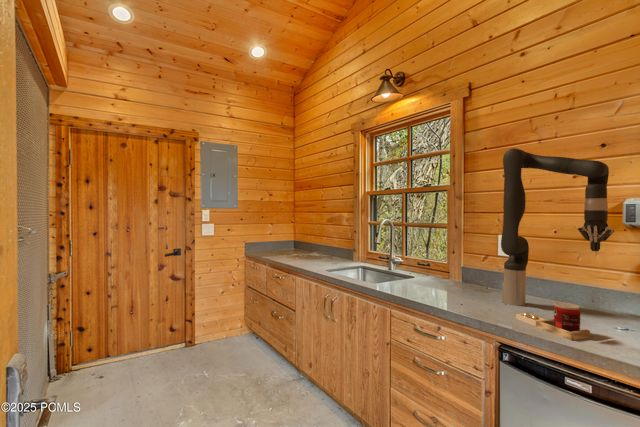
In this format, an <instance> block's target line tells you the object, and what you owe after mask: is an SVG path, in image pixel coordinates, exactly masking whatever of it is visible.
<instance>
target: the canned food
mask: <svg viewBox="0 0 640 427" xmlns="http://www.w3.org/2000/svg"><path fill="white" fill-rule="evenodd" d="M553 319H554V326H555V327H558V328H561V329H563V330H566V331H569V332H573V331H580V330H581V306H580V305H577V304H575V303H569V302H564V301H557V302H554V305H553Z"/></svg>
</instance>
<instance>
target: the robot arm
mask: <svg viewBox="0 0 640 427" xmlns="http://www.w3.org/2000/svg"><path fill="white" fill-rule="evenodd" d="M502 166H503V174H504V175H503V176H504V181H503V182H504V183H503V204H502V205H503V206H502V207H503V217H502V220H503V221H502V224H503V225H502V231H501V239H500V240H501V241H500V247H501V250H502V253H503V254H504V255H506V256H508V259H507V260H506V261H505V262H504V263H503V264H504V265H503V282H502V283H501V303H503V304H504V305H508V306H515V307H524V306H526V305H527V304H526V301H527V299H526V298H527V297H526V296H527V294H526V292H527V290H526V289H527V265H528V263H529V256H530V255H529V254H530V253H529V252H530V251H529V250H530V249H529V247H530V245H529V242H528V240H527V239H526V238H525V237H523V236H522V235H521V236H520V235H519V227H520V223H521V221H522V219H523V217H524V214H525V211H526V206H527V204H526V200H527V199H526V198H527V197H526V192H525V191H526V190H525V187H524V184H523V179H522V169H535V170H543V171H548V172H552V173H556V174H558V173H559V174H564V175H570V176H571V175H576V176H580V177H587V184H586V187H585V192H584V206H583V207H584V209H583V213H584V214H583V215H584V216H583V219H584V223H583V226H582V227H578V228H577V231H578V232H579V233H580V234H581V236H582V237H583V238H584V240H585V241H588V242H590V244H589V245H590V247H589V249H590V250H591V252H599V251H600V250H601V242H605V241H607V240H608V239H609V238H610V237H611V235H613V234H614V233H615V229H612V228H610V227H609V224H608V217H609V216H608V211H609V210H608V209H609V207H608V206H609V203H608V183H609V182H608V181H609V174H610V170H609V166H608V164H606V163H605V162H603V161H599V160H593V159H579V158H572V157H564V156H555V155H554V156H552V155H551V156H550V155H546V156H545V155H540V154H539V155H538V154H534V153H531V152H528V151H525V150H522V149H519V148H515V147H514V148H513V147H512V148H509V149H507V151H505V153H504V154H503V157H502Z"/></svg>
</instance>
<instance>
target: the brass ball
mask: <svg viewBox="0 0 640 427" xmlns="http://www.w3.org/2000/svg"><path fill="white" fill-rule="evenodd" d="M532 315H533V314H532ZM531 319H533V320H540V319H539V316H538V315H536V314H534V315H533V316H532V317H531Z"/></svg>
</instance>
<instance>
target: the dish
mask: <svg viewBox="0 0 640 427" xmlns="http://www.w3.org/2000/svg"><path fill="white" fill-rule="evenodd" d="M529 314H530V313H529ZM530 315H531V317H532V316H533V314H530ZM538 317H539V316H538ZM515 319H516V320H519V321H521V322H524V323H527V324H530V325H533V326H535V327H536V321H541V320H547V319H545V318H542V317H539V319H540V320H533V319H530V318H527V317H525V316H523V313H516V314H515Z"/></svg>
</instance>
